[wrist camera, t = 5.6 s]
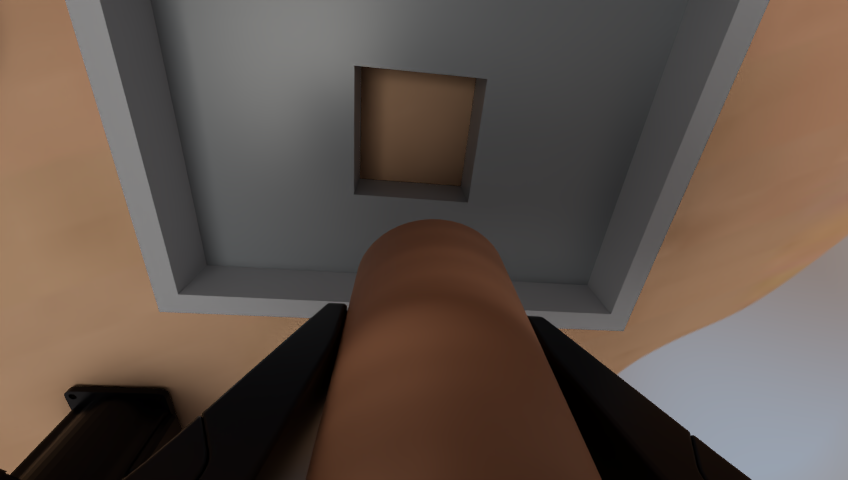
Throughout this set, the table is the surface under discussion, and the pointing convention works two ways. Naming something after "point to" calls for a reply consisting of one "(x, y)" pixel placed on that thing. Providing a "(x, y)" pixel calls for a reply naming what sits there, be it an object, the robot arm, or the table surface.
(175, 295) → the socket box
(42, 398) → the table surface
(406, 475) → the peg
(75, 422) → the robot arm
